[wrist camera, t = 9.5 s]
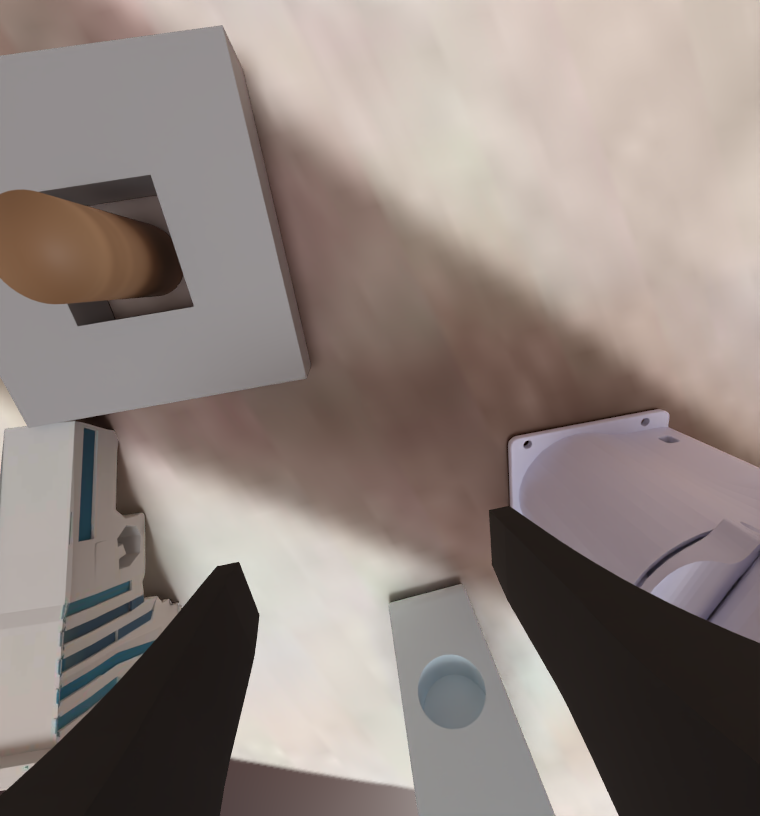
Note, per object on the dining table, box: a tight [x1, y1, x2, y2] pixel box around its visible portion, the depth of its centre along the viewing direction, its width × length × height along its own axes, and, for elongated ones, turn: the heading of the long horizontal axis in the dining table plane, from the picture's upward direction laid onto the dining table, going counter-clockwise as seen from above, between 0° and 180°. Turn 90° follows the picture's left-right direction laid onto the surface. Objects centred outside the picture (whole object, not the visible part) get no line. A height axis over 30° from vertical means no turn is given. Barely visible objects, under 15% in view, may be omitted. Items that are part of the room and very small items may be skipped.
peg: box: [0, 189, 183, 304], centre depth 13 cm, size 3×3×6 cm
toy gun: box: [0, 421, 182, 791], centre depth 18 cm, size 3×14×10 cm
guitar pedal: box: [389, 584, 555, 816], centre depth 22 cm, size 23×6×13 cm, turn 13°
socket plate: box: [0, 25, 311, 428], centre depth 15 cm, size 12×12×2 cm
